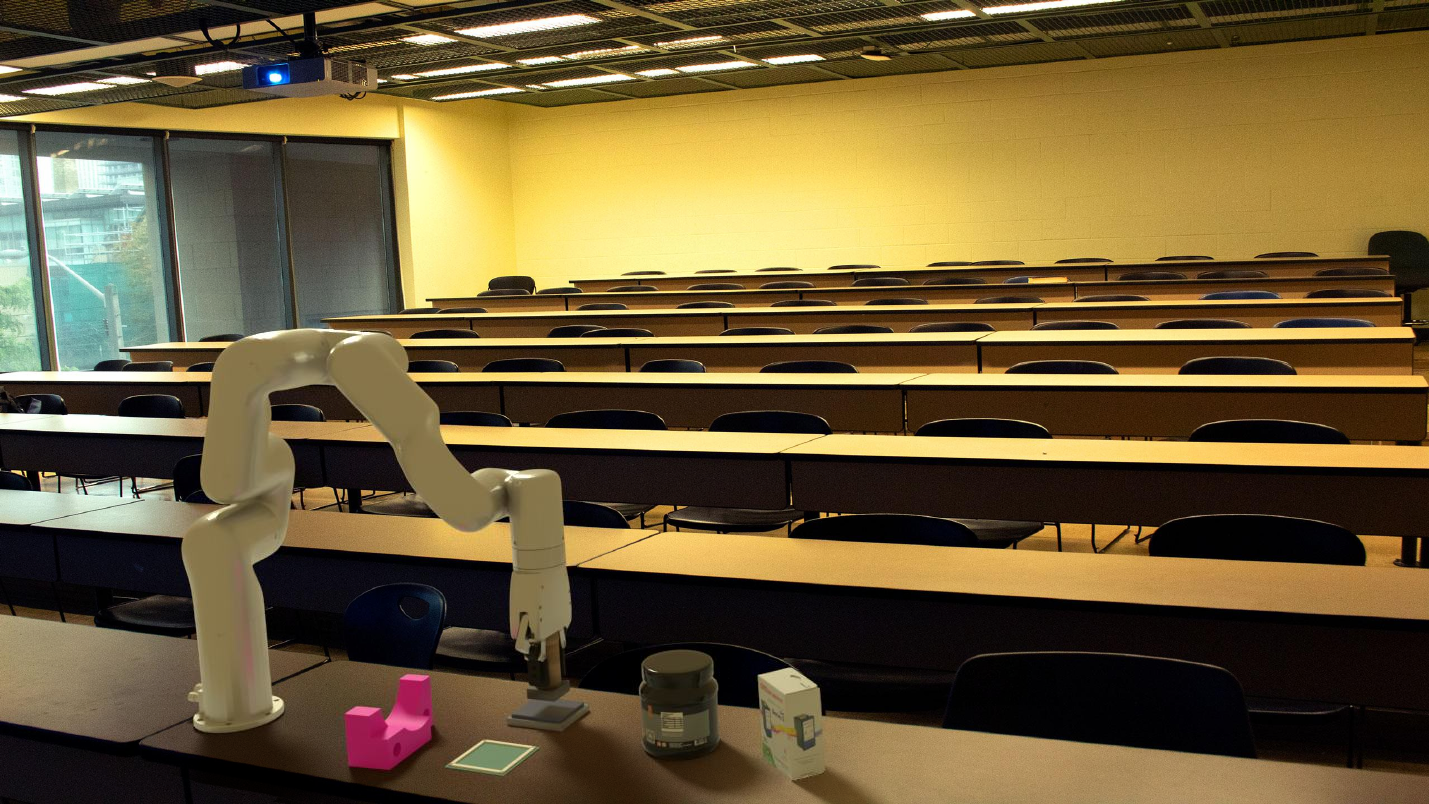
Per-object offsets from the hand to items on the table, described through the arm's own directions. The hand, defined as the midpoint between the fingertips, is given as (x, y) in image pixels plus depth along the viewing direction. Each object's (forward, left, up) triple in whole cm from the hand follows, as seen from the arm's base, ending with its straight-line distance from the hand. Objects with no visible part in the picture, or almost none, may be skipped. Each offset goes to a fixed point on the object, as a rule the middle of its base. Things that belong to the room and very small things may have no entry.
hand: (547, 679), depth 163 cm
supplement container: (+22, -4, -6) cm, 24 cm away
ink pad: (0, 0, -6) cm, 6 cm away
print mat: (0, -15, -6) cm, 16 cm away
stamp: (0, 0, -2) cm, 2 cm away
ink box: (+39, -6, -6) cm, 40 cm away
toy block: (-15, -14, -6) cm, 22 cm away
